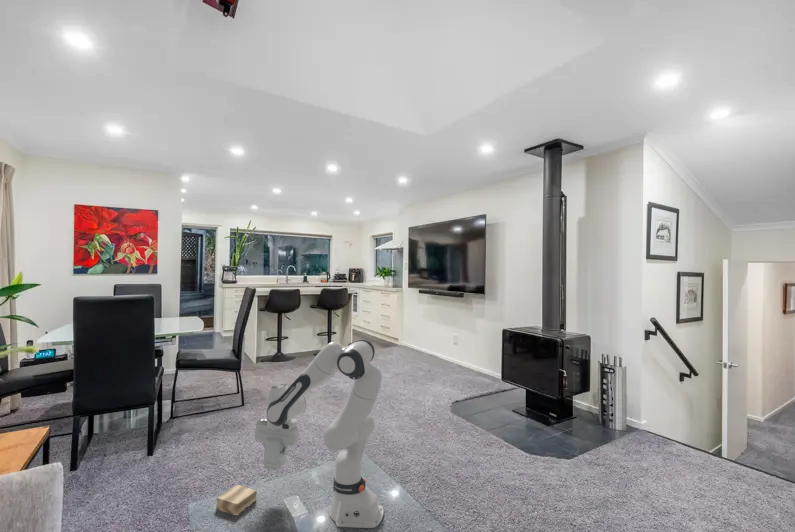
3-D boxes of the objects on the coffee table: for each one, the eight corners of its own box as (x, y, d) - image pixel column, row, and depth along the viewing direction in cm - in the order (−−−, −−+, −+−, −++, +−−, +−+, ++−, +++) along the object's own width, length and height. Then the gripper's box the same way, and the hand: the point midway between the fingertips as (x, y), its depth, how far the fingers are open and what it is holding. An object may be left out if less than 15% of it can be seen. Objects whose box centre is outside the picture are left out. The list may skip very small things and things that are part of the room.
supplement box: (278, 471, 159) (279, 441, 160) (263, 468, 161) (264, 439, 162) (286, 463, 167) (288, 434, 167) (272, 461, 168) (273, 433, 169)
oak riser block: (256, 502, 159) (256, 490, 159) (236, 517, 149) (237, 504, 149) (236, 496, 163) (237, 484, 163) (216, 510, 153) (216, 497, 153)
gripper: (252, 421, 164) (250, 453, 163) (294, 426, 160) (293, 458, 159) (260, 416, 170) (259, 446, 169) (301, 421, 166) (299, 452, 165)
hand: (275, 452), depth 164 cm, fingers closed on supplement box, 7 cm apart
